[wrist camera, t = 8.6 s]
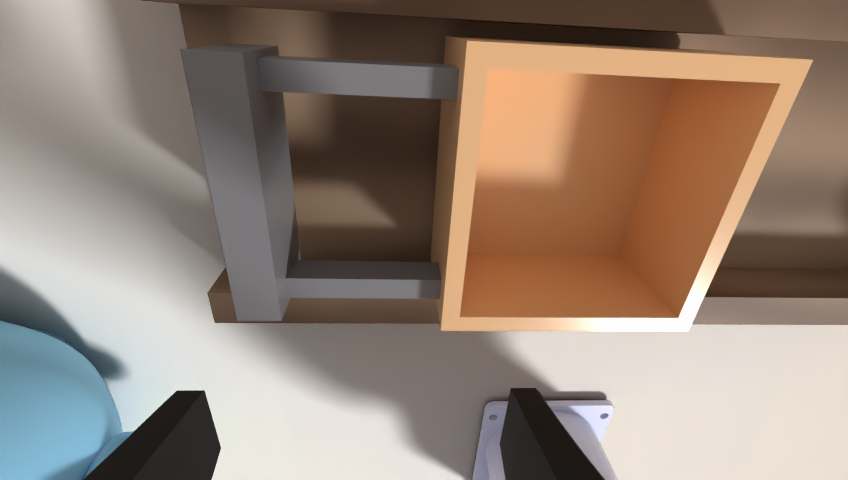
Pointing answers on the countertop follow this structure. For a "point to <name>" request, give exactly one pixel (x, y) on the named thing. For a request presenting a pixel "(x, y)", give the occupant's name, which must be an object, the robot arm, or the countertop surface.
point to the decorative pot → (52, 408)
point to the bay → (559, 22)
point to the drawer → (511, 177)
